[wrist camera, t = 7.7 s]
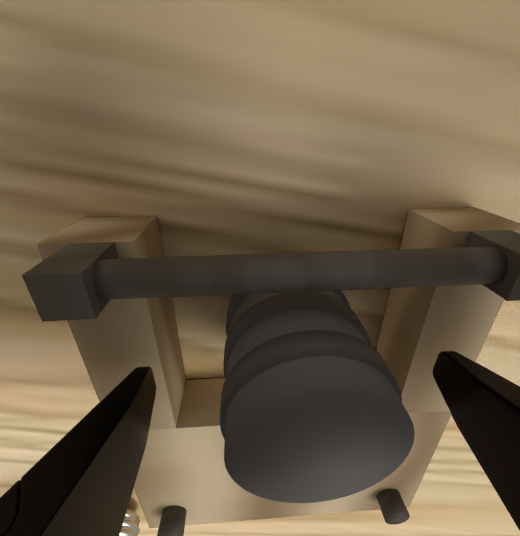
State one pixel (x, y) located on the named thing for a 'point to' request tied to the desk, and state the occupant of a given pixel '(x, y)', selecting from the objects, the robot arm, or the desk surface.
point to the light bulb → (130, 524)
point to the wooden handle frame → (270, 281)
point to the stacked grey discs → (307, 399)
